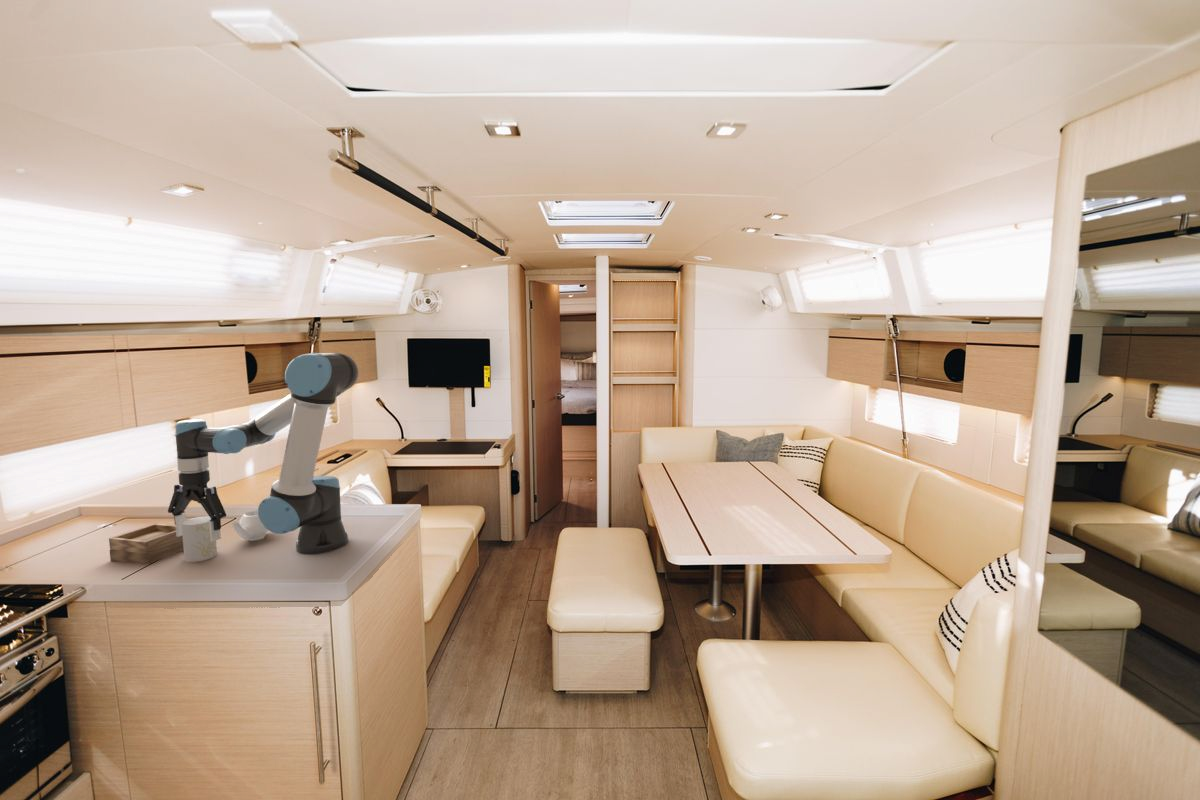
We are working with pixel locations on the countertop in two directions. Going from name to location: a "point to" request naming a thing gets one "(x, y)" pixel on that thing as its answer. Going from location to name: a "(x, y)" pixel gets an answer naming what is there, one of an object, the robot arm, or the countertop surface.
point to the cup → (197, 539)
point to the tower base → (146, 554)
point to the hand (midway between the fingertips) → (198, 537)
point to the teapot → (250, 527)
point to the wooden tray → (145, 539)
